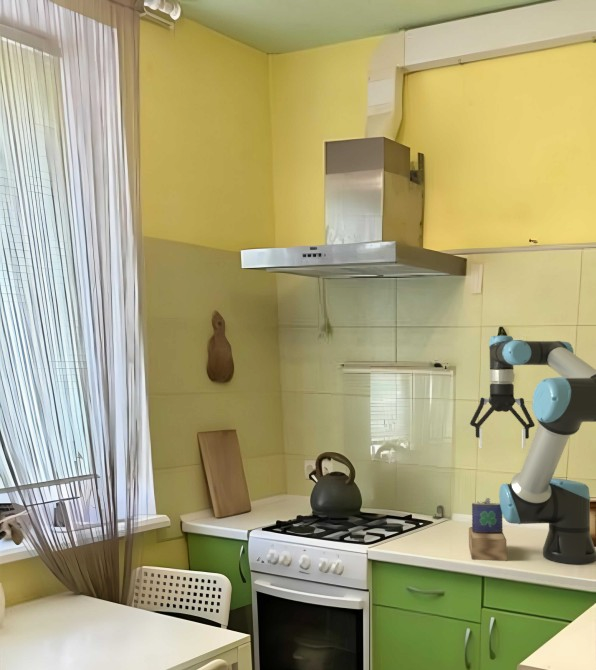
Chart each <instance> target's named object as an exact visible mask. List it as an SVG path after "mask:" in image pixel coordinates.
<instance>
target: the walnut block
mask: <svg viewBox="0 0 596 670" xmlns="http://www.w3.org/2000/svg"><path fill="white" fill-rule="evenodd" d="M468 548H469V552H470V553H469V554H470V557H471V558H470V559H471V560H477V561H478V560H481V561H497V562H498V561H499V562H500V561H501V562H502V561H503V562H506V561H507V560H508V559H507V554H508V553H507V549H508V548H507V538H506V536H505V535H504V531H503V532H502V533H499V534H497V533H496V534H490V533H488V534H482V533H473V531H472V526H470V527H468Z"/></svg>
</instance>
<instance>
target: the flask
mask: <svg viewBox="0 0 596 670" xmlns="http://www.w3.org/2000/svg"><path fill="white" fill-rule="evenodd" d="M471 513H472V515H471V516H472V517H471V523H472V524H471V527H472V531H473V533H482V534H488V533H490V534H496V533H497V534H499V533H502V532H503V533H504V529H503V514H502V511H501V507H500V502H494V503H493V502H491V499H490V497H486V498H485V500H483V501H476V502H472V504H471Z"/></svg>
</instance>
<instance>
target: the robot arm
mask: <svg viewBox="0 0 596 670" xmlns="http://www.w3.org/2000/svg"><path fill="white" fill-rule="evenodd" d="M488 348H489V382H491V383H489V397H488V398H485V397H480V399H479V405H478V406H477V408H476V410H475V412H474V414H473V416H472V418H471V420H470V422H469V425H470V426H472V427H474V428H475V438H477V439H478V442H479V443H478V444H479V445H478V448H479V449H483V427H481V426H482V425H483V424H484V423H485V421H486V420H488V418H489V417H490V416H491V415H492V414H493V413H494V412H498V413H500V412H505V413H507V412H509V411H510V413H511V414H512V415H513V416H514V417H515V419H516V420H517V421H519V423H520V424H521V425H522V427H523V428H521V449H522V450H526V440H527V439H529V438H530V434H529V433H530V428H533V427H535V423H534V421H533V419H532V417H531V414H530V413H529V411H528V409H527V407H526V405H525V399H524V398H523V397H519V398H515V396H514V395H515V392H514V390H515V389H514V386H515V385H514V384H513V382H514V378H515V377H514V372H515V371H514V366H548V367H549V368H550V369H552V370H553V371H554V372H555V373H557V374H558V375H559V376H555V377H548V378H545V379H542V380H541V381H540V382H539V383H537V385H536V387H535V389H534V392H533V395H532V399H533V400H532V412H533V415H534V416H535V418H536V421H537V423H538V424H537V426H536V429H535V433H534V434H533V438H532V440H531V443H530V446H529V448H528V451H527V453H526V457H525V459H524V462H523V465H522V467H521V469H520V471H519V472H518V473H516V474H515V475H513V477H512V478H511V481H510V483H508V482H506V483H503V484H501V485H500V487H499V492H498V493H499V494H498V496H499V497H498V499H499V503H500V507H501V511H502V517H504V518H503V519H504V520H505V521H506V522H507V523H509V524H515V525H516V524H517V525H527V524H528V525H529V524H530V525H531V524H548V532H547V535H546V539H545V542H544V543H543V547H542V556H543V558H545V559H546V560H548V561H549V560H550V561H551V562H552V561H553V562H557V563H562V564H569V565H570V564H571V565H585V564H586V565H587V564H588V565H589V564H593V563H595V562H596V548H595V545H594V541H593V539H592V536H591V516H590V515H591V514H590V512H591V511H590V510H591V507H590V506H591V505H590V504H591V498H590V497H591V496H590V488H589V486H588V485H587V484H586V483H583V482H580V481H576V480H570V479H564V478H556V477H554V475H555V472H556V470H557V467H558V465H559V462H560V460H561V458H562V455H563V454H564V453H563V452H564V451H565V449H566V445H567V443H568V441H569V439H570V436H572V435H575V434H577V432H578V431H579V430H580V428H581V426H582V424H583V423H588V422H589V423H592V422H594V423H595V422H596V368H595V367H593V366H592V365H590V364H589V363H588V362H585V361H584V360H583V359H582V358H580V357H579V356H577V355H576V354H574V348H573V345H572V344H571V343H570V342H568V341H561V340H553V341H552V340H551V341H550V340H543V341H542V340H540V341H539V340H533V341H532V340H518V339H517V340H515V339H514V338H513V336H512V335H493V336H491V337H490V338H489V346H488ZM487 403H488V404H490V406H491V407H489V408H488V410H487V411H486V412H485V413H484V415H482V417H481V418H480V419H479V420H478V421H477V419H478V418H479V415H480V414H481V412H482V410H483V408H484V406H485V405H487ZM515 403H516V404H517V405H518V406H519V407H520V409H521V410H522V412H523V414H524V416H525V418H526V420H527V422H528V423H527V422H526V421H525V420H524V419H523V417H522V416H521V415H520V414H519V413H518V412H517V411H516V410H515V408H514V406H515ZM476 422H477V423H476Z"/></svg>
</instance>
